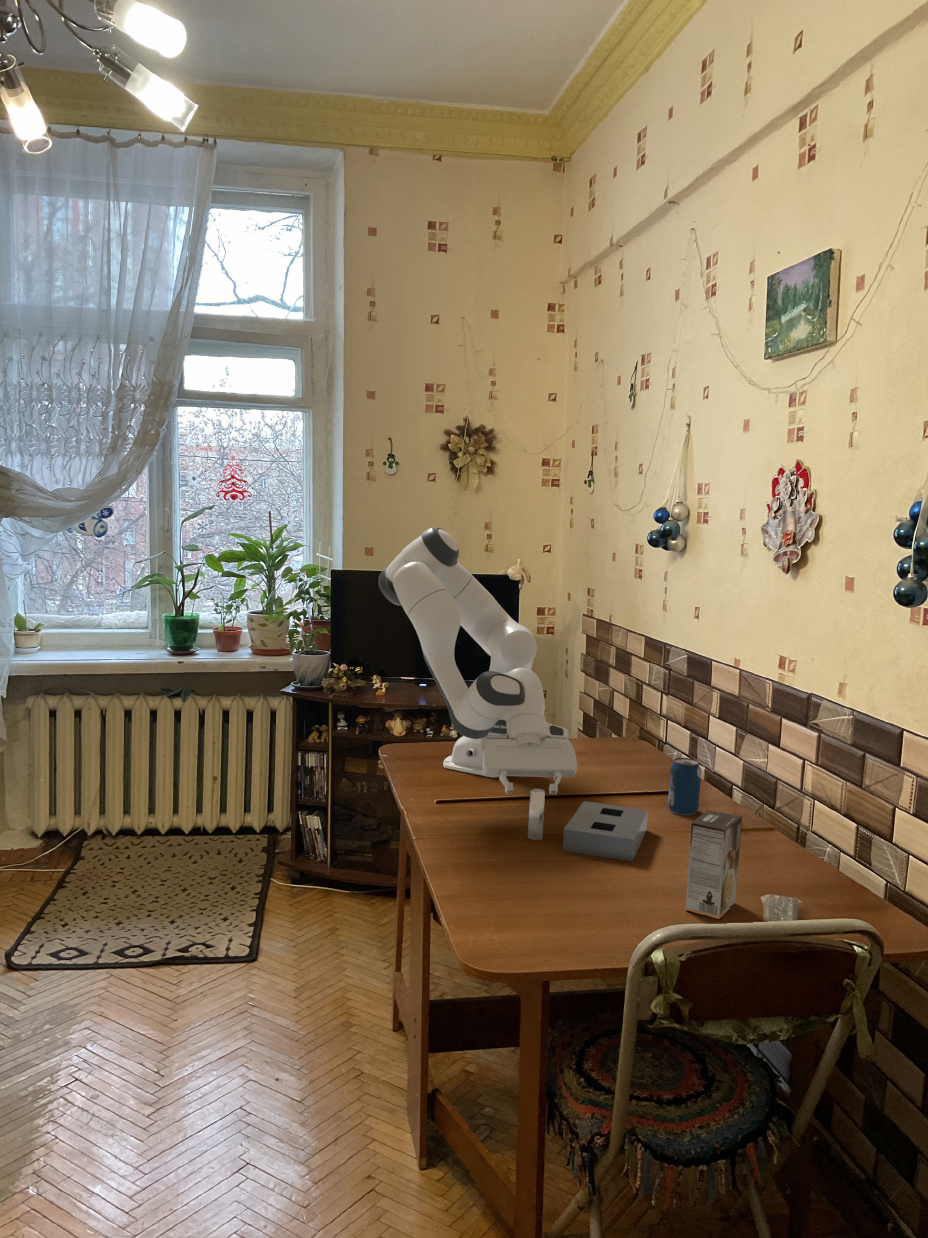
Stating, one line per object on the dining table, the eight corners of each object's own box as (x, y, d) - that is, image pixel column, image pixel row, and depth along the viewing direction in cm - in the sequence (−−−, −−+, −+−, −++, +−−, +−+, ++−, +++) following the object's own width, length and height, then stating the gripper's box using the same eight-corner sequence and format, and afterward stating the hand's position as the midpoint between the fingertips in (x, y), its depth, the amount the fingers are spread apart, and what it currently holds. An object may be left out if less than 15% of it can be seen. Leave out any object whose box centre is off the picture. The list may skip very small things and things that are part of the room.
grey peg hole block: (562, 850, 190) (564, 829, 190) (582, 820, 209) (583, 801, 208) (632, 861, 186) (634, 839, 185) (646, 830, 205) (647, 810, 204)
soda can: (703, 812, 219) (707, 761, 217) (688, 818, 214) (692, 766, 212) (677, 805, 224) (680, 755, 222) (661, 810, 218) (665, 760, 217)
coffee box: (701, 894, 171) (707, 808, 169) (736, 903, 168) (743, 816, 166) (684, 911, 163) (690, 821, 162) (720, 921, 160) (728, 829, 158)
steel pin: (526, 838, 196) (528, 792, 195) (529, 834, 199) (532, 788, 198) (540, 841, 195) (543, 794, 194) (543, 836, 198) (546, 790, 197)
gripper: (481, 727, 204) (484, 784, 195) (575, 729, 206) (581, 786, 197) (478, 742, 209) (480, 798, 200) (570, 744, 211) (576, 801, 202)
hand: (531, 792), depth 199 cm, fingers open, 8 cm apart
